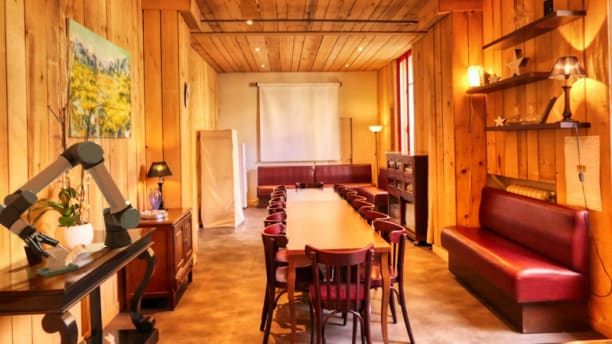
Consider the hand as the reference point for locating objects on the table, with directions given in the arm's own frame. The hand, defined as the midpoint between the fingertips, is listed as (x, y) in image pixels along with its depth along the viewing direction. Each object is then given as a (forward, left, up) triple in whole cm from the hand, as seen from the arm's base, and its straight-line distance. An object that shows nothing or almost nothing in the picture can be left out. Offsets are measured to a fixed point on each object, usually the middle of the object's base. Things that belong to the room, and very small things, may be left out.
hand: (61, 257), depth 220 cm
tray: (+2, -1, -7) cm, 7 cm away
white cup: (+2, -1, -6) cm, 7 cm away
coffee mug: (+1, -37, -7) cm, 38 cm away
